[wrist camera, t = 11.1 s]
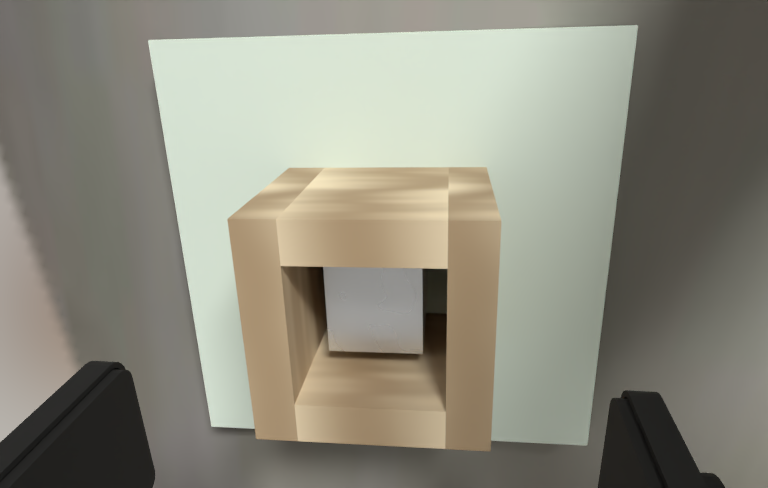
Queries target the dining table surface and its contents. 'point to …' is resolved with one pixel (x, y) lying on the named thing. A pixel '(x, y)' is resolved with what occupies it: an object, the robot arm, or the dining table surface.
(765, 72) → the dining table surface
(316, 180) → the maple collar
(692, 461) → the robot arm
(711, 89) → the dining table surface
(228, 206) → the post board
